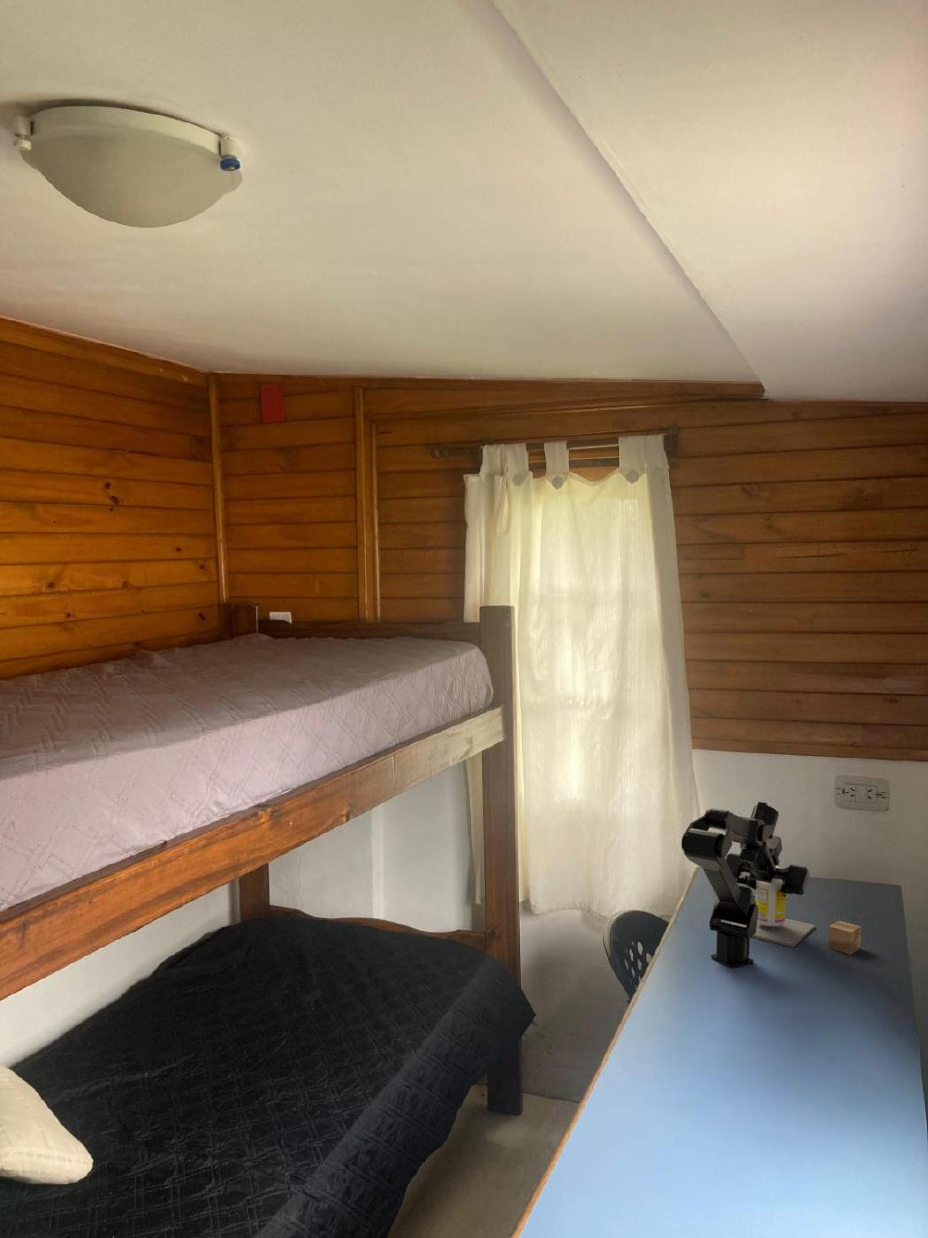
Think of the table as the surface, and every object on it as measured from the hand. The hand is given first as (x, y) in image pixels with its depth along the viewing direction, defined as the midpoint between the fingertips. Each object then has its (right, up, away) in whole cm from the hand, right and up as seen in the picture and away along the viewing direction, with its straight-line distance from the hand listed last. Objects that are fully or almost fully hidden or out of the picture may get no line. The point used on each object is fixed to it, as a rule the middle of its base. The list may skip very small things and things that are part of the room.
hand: (772, 892), depth 222 cm
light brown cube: (+12, -9, -12) cm, 19 cm away
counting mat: (-1, -8, -1) cm, 8 cm away
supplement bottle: (-1, -7, -1) cm, 7 cm away
